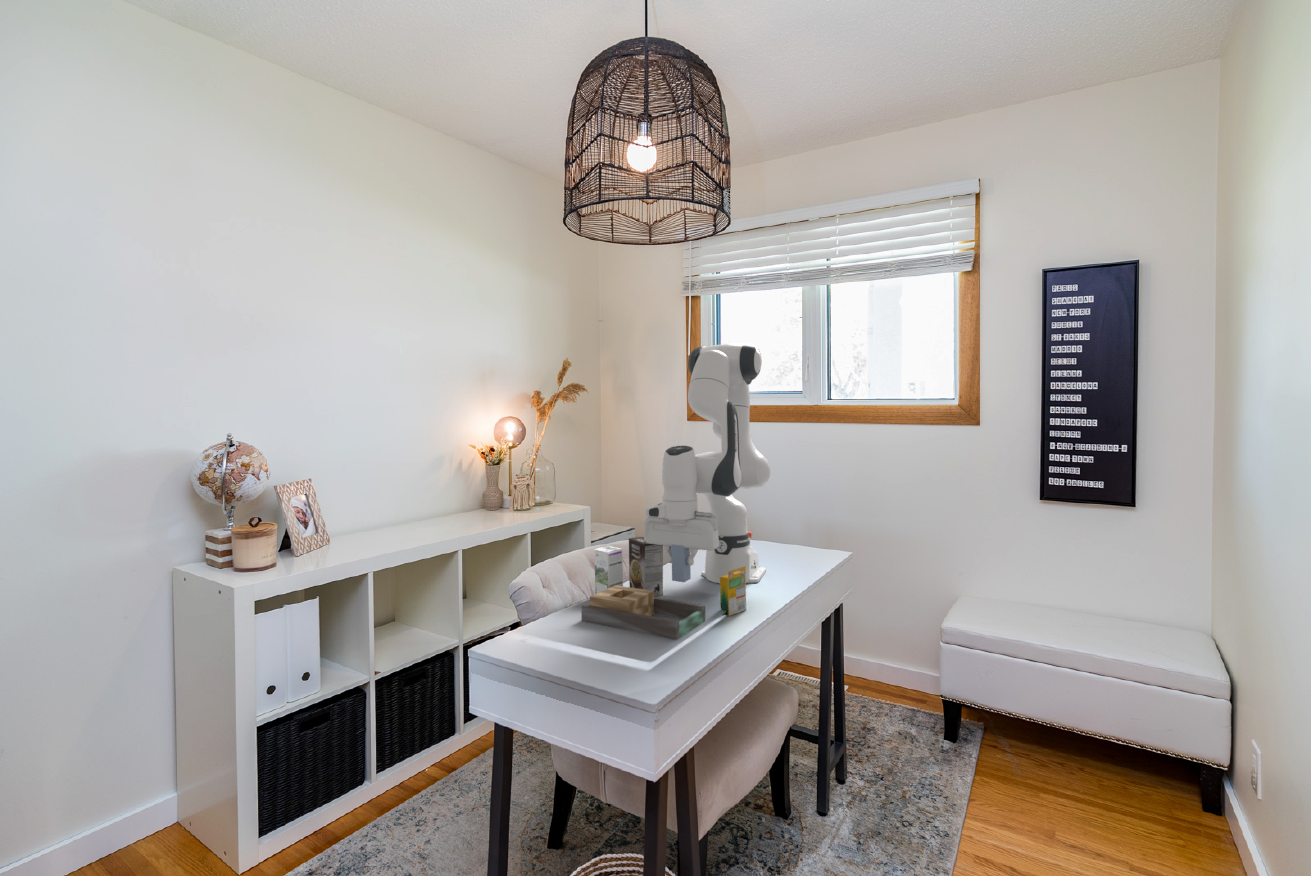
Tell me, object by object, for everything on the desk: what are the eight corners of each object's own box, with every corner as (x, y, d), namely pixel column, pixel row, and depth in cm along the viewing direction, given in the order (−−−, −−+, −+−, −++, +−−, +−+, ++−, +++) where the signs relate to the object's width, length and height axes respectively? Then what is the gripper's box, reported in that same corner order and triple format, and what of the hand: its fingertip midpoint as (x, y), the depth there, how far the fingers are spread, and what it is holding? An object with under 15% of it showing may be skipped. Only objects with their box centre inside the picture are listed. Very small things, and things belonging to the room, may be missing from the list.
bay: (614, 609, 169) (614, 590, 168) (705, 625, 155) (704, 605, 155) (581, 625, 156) (581, 605, 156) (676, 645, 143) (676, 623, 143)
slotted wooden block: (616, 607, 167) (616, 585, 166) (654, 613, 161) (653, 591, 161) (590, 620, 157) (589, 596, 157) (629, 627, 151) (629, 603, 151)
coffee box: (628, 594, 182) (627, 538, 182) (648, 590, 186) (647, 535, 185) (643, 602, 174) (643, 543, 174) (664, 598, 178) (663, 541, 177)
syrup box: (624, 599, 177) (623, 547, 176) (608, 604, 173) (607, 551, 172) (610, 595, 181) (609, 545, 180) (594, 600, 176) (593, 548, 176)
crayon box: (737, 607, 169) (737, 564, 168) (746, 610, 167) (746, 566, 166) (719, 614, 164) (719, 569, 163) (728, 616, 162) (728, 571, 161)
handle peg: (678, 577, 166) (677, 539, 166) (690, 578, 165) (689, 540, 164) (672, 580, 163) (671, 541, 163) (684, 582, 162) (683, 543, 161)
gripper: (722, 511, 160) (723, 565, 161) (652, 505, 171) (653, 556, 172) (711, 515, 155) (712, 571, 156) (640, 509, 165) (641, 562, 166)
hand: (681, 563), depth 164 cm, fingers closed on handle peg, 3 cm apart
